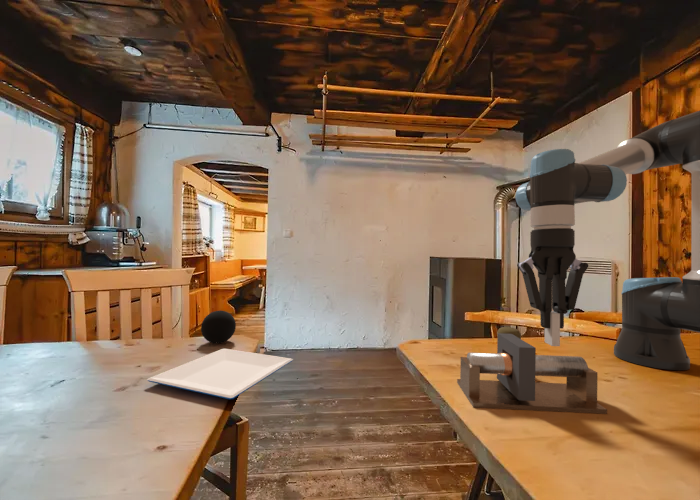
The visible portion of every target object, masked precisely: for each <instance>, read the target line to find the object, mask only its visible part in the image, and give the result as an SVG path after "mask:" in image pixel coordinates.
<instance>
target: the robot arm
mask: <svg viewBox="0 0 700 500" xmlns="http://www.w3.org/2000/svg"><path fill="white" fill-rule="evenodd" d="M680 164H681V165H682V169H684V170H686V172H689V173H690V174H691V242H690V243H691V254H690V255H691V267H690V269H691V270H690V271H689V272H688V273H686V274H684V275H683V276H682V279H681V278H680V277H678V276H677V277H673V276H672V277H671V276H667V277H666V276H665V277H664V276H663V277H634V278H627V279H625V280H624V281H623V283H622V291H621V331H620V333H619V335H618V337H617V339H616V342H615V344H614V346H613V355H614V356H615V357H617V358H618V359H621V360H623V361H626V362H629V363H631V364H636V365H640V366H645V367H649V368H655V369H661V370H662V369H663V370H666V371H667V370H668V371H669V370H670V371H686V370H690V368H691V358H690V357H689V355H688V353H687V351H686V348H685V345H684V342H683V340H682V337H681V330H683V331H684V330H685V331H691V332H696V333H700V110H697V111H694V112H692V113H689V114H685V115H682V116H680V117H677V118H674V119H670V120H668V121H665V122H662V123H659V124H658V125H655V126H654V127H652V128H649V129H647V130H645V131H643V132H641V133H639V134H637V135H634V136H633V137H631V138H629V139H626V140H623V141H622V142H620V143H619V144H618V145H617V146H616V148H613V149H610V150H608V151H606V152H603V153H601V154H598V155H595V156H593V157H591V158H588V159H586V160H584V161H581V162H579V163H578V162H576V158H575V152H574V151H572V150H571V149H569V148H557V149H556V148H555V149H549V150H544V151H542V152H540V153H537V154H535V155H534V156H533V157H532V158H531V161H530V171H529V181H528V182H525V183H522V184H521V185H519V186H518V187H517V188H516V189H517V190H516V192H515V196H514V197H515V201H516V204H517V206H518V207H519V208H520V209H521V210H523V211H527V212H528V211H529V212H530V227H531V228H533V229H532V230H531V231H530V234H529V235H530V240H529V241H530V249H531V250H530V252H529V254H528V258H527V259H525V260H524V261H518V262H517V264H516V266H517V267H518V270H519V271H520V272H521V275H522V278H523V282H524V286H525V289H526V290H525V291H526V294H527V297H528V301H529V302H528V303H529V306H530V307H531V308H533V309H536V310H538V311H539V312H540V313H539V314H540V326H541V327H542V328H544V343H545V344H547V345H550V346H551V347H561V330H562V329H564V326H565V315H566V314H568V313H569V311H573V310H575V307H576V305H577V302H578V301H577V300H578V297H579V292H580V288H581V285H582V282H583V281H582V279H583V276H584V274H585V273H586V271H587V269H588V268H589V264H588V262H582V261H581V260H579V259H578V258H577V257H576V253H575V252H574V247H575V238H576V237H575V229H573V228H572V227H574V226H575V225H576V224H575V223H576V222H575V221H576V220H575V217H576V216H575V215H576V214H575V213H576V212H575V204H581V203H588V202H595V203H603V202H604V203H605V202H611V201H614V200H616V199H618V198H619V197H620V196H621V195H622V194H623V193H624V191H625V190H626V187H627V181H628V179H627V175H637V174H641V173H643V172H645V171H650V170H653V169H658V168H665V167H670V166H676V165H680ZM534 267H535V269H536V270H537V277H538V281H537V278H536V275H535V272H534V270H533V269H534ZM569 269H570V270H569ZM568 270H569V271H568ZM567 271H568V272H567ZM567 275H568V276H567ZM566 279H567V280H566ZM537 282H538V283H537Z"/></svg>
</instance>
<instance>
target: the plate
mask: <svg viewBox="0 0 700 500" xmlns="http://www.w3.org/2000/svg"><path fill="white" fill-rule="evenodd" d="M293 360H294V358H290V357H284V356H283V357H282V356H276V355H269V354H264V353H258V352H257V353H256V352H250V351H243V350H238V349H237V350H236V349H232V348H231V349H230V348H221V349H219V350H216V351H213V352H210V353H208V354H206V355H203V356H201V357H198V358H195V359H194V360H190V361H188V362H185V363H183V364H181V365H179V366H175V367H173V368H171V369H168V370H166V371H163V372H161V373H159V374H158V373H157V374H155V375H152V376H151V377H148V378H147V379H146V381H147V382H150V383H153V384H158V385H162V386H163V385H164V386H167V387H172V388H176V389H180V390H181V389H182V390H186V391H191V392H194V393H199V394H204V395H209V396H212V397H217V398H218V397H219V398H223V399H226V400H234V399H235V398H237V397H238V396H240V395H241V394H243V393H245V392H246V391H248V390H249V389H251V388H252V387H254V386H255V385H257V384H258V383H260V382H262V381H263V380H264V379H266V378H268V377H269V376H271V375H273V374H274V373H276V372H278V371H279V370H281V369H282V368H284V367H285V366H287V365H288V364H290V363H292V362H293Z"/></svg>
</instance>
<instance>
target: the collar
mask: <svg viewBox="0 0 700 500" xmlns="http://www.w3.org/2000/svg"><path fill="white" fill-rule="evenodd" d="M496 344H497V347H496V348H497V350H496V352H497V353H496V354H498V353H509V354H510V355H512V356H513V376H511V375H501V374H496V378H497V381H500V382H501V383H502V384H503V385H504V386H505V387H506V388H507V389H508V390H509V391H510V392H511V393H512V394H513V395H514V396H515V397H516V398H517V399H518V400H524V401H535V382H536V376H535V364H536V355H537V354H536V352H537V351H536V350H537V349H536V347H535V346H534V345H532V344H530V343H528V342H526V341H525V340H523V339H522V338H521V339H520V338H518V337H516V336H515V335H513V334H504V333H498V336H497V343H496Z"/></svg>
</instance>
